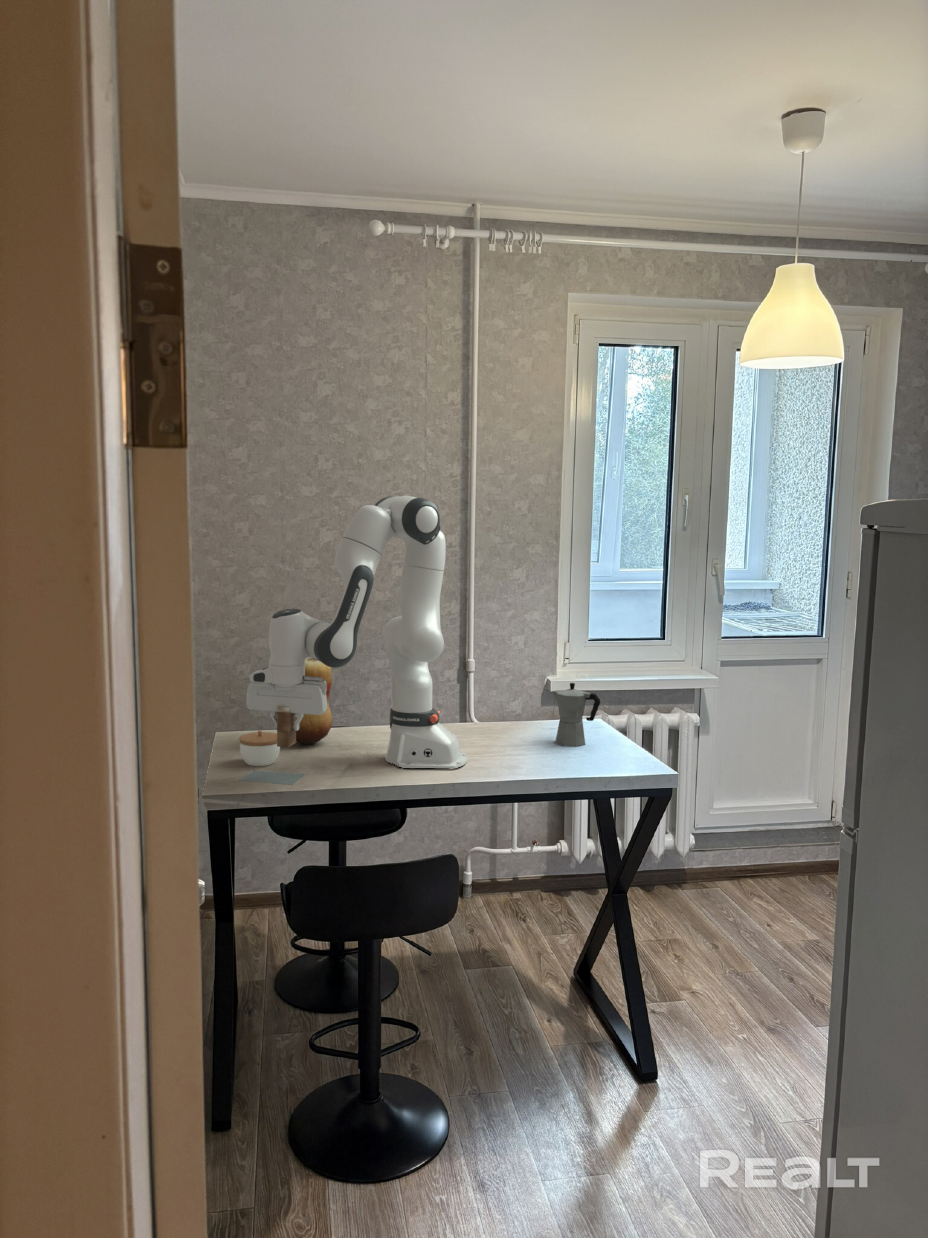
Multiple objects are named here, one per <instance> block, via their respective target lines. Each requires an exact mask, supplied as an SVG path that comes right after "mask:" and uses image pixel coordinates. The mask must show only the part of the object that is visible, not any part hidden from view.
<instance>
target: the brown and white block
mask: <svg viewBox="0 0 928 1238" xmlns="http://www.w3.org/2000/svg"><path fill="white" fill-rule="evenodd" d="M295 721H296V717H295V713H290V707H283V706H278V707H277V729H276V734H277V746H278V747H280V748H290V747H291V746H293V745H294V744H296V743H297V742H296V731H293V730H291V728H292V727H291V724H292V723H293V722H295Z"/></svg>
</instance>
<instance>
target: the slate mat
mask: <svg viewBox="0 0 928 1238" xmlns="http://www.w3.org/2000/svg"><path fill="white" fill-rule="evenodd" d="M306 774H307V773H295V772H294V773H292V772H284V771H283V772H282V771H270V770H269V771H268V770H258V769H257V770H255V769H254V770H252V771H251V772H250V773H248V774H246V775H245V776H243V777H242V778H241V779H239V780H238V781H241V782H252V783H263V784H277V785H288V786H290V785H291V786H293V785H295V784H296V783H297V782H298V781H300V779H302V778H304V776H305V775H306Z"/></svg>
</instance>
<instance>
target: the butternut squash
mask: <svg viewBox="0 0 928 1238" xmlns="http://www.w3.org/2000/svg"><path fill="white" fill-rule="evenodd" d="M332 673H333V672H332V667H329V666H326V665H325V664H323V663H322V662H320V661H318V660H315V659H313V658H307V659H306V660H305V676H311V677H321V678H322V679H323V680H325V681H326V683H327V692H326V697H327V710H326V711H325V712H324V713H323V714H321V715H313V714H304V716H303V718H302V720H301V721H300V723H299V730H298V731H296V743H297V744H298V745H308V744H309V745H311V744H316V743H318V742H320V741H321V740H323V739H324V738H325V737H327V736H328V734H329V732H330V730H331V728H332V727H333V715H332V714H333V713H332V710H331V708H330V704H329V700H330V699H329V697H330V693H331V690H332V689H331V688H332V679H333V675H332ZM321 681H322V680H321ZM322 682H323V681H322ZM297 718H298V717H296V720H297Z"/></svg>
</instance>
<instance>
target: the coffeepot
mask: <svg viewBox="0 0 928 1238" xmlns="http://www.w3.org/2000/svg"><path fill="white" fill-rule="evenodd" d="M575 685H576V683H575V682H570V683H569V688H568V689H559V690H552V691H551V692H550V693H551V694H552V695H553V697H554V699H555V701H556V703H557V705H558V706H557V707H558V715H559V722H558V727H557V731H556V738H555V743H556V744H557V745H560V746H563V747H581V746H584V745H586V739H585V732H584V730H585V729H584V722H583V717H584V714H585V709H586V708H585V707H586V702H587V701H588V700H589V701H590V700H592V701H594V702H593V704H592V709H591V711H590V717H589V716H586V721H588V722H592V721H594V720H595V717H596V715H597V712H598V709H599V707H600V705H601V699H600V698H599V696H598V695H597V694H596V693H591V692H587V691H584V690H579V689H575Z"/></svg>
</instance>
